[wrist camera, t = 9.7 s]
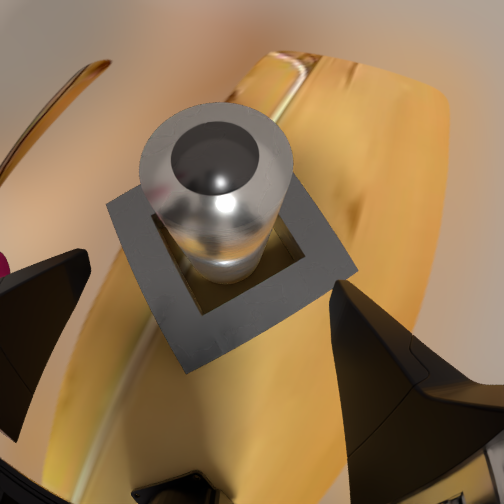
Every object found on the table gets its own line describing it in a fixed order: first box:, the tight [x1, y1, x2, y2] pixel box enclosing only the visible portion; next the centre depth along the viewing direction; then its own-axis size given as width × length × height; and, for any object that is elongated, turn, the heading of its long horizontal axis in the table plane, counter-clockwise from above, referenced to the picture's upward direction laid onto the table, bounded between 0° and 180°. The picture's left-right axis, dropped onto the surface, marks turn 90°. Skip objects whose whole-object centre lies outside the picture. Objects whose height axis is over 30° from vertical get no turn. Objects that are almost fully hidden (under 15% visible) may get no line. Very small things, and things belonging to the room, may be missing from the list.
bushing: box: [139, 102, 293, 284], centre depth 14 cm, size 5×5×11 cm
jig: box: [106, 173, 358, 374], centre depth 18 cm, size 12×12×2 cm
